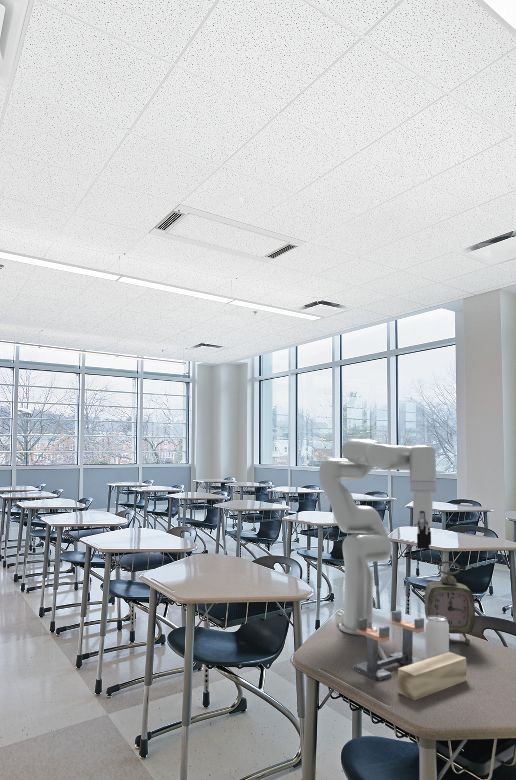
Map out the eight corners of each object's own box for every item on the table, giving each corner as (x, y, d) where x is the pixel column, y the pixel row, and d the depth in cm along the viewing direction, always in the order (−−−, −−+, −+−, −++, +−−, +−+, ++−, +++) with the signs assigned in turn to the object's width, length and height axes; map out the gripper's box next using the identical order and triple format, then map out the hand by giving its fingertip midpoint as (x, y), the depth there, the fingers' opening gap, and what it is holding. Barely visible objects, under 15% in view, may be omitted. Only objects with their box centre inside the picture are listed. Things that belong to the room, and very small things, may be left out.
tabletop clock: (427, 642, 171) (428, 562, 174) (423, 633, 180) (423, 556, 183) (475, 646, 169) (474, 565, 172) (468, 637, 178) (468, 559, 181)
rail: (397, 693, 134) (398, 668, 135) (449, 674, 147) (449, 651, 148) (414, 701, 130) (414, 675, 131) (466, 681, 143) (466, 657, 144)
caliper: (366, 640, 171) (366, 620, 172) (369, 640, 171) (369, 620, 172) (385, 666, 151) (385, 643, 152) (389, 666, 151) (389, 643, 152)
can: (450, 666, 152) (450, 622, 153) (426, 663, 153) (426, 620, 155) (447, 658, 158) (447, 615, 160) (424, 655, 160) (424, 613, 161)
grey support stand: (353, 669, 147) (354, 619, 149) (400, 655, 159) (400, 609, 161) (378, 681, 140) (379, 629, 142) (425, 665, 152) (426, 617, 153)
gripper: (412, 486, 169) (413, 542, 167) (407, 487, 153) (408, 549, 151) (437, 487, 166) (439, 544, 164) (434, 488, 150) (436, 551, 148)
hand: (424, 546), depth 157 cm, fingers open, 9 cm apart
